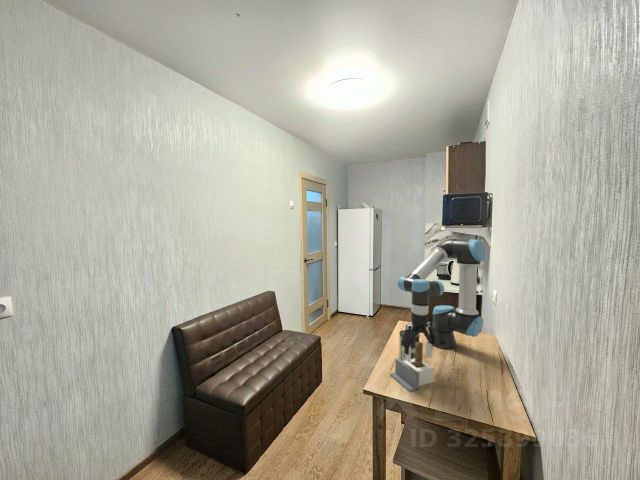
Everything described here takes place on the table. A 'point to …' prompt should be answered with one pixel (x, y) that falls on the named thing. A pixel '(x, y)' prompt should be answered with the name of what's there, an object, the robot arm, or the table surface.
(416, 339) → the coffee can
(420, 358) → the dowel
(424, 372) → the block
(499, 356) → the table surface
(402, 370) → the wall
